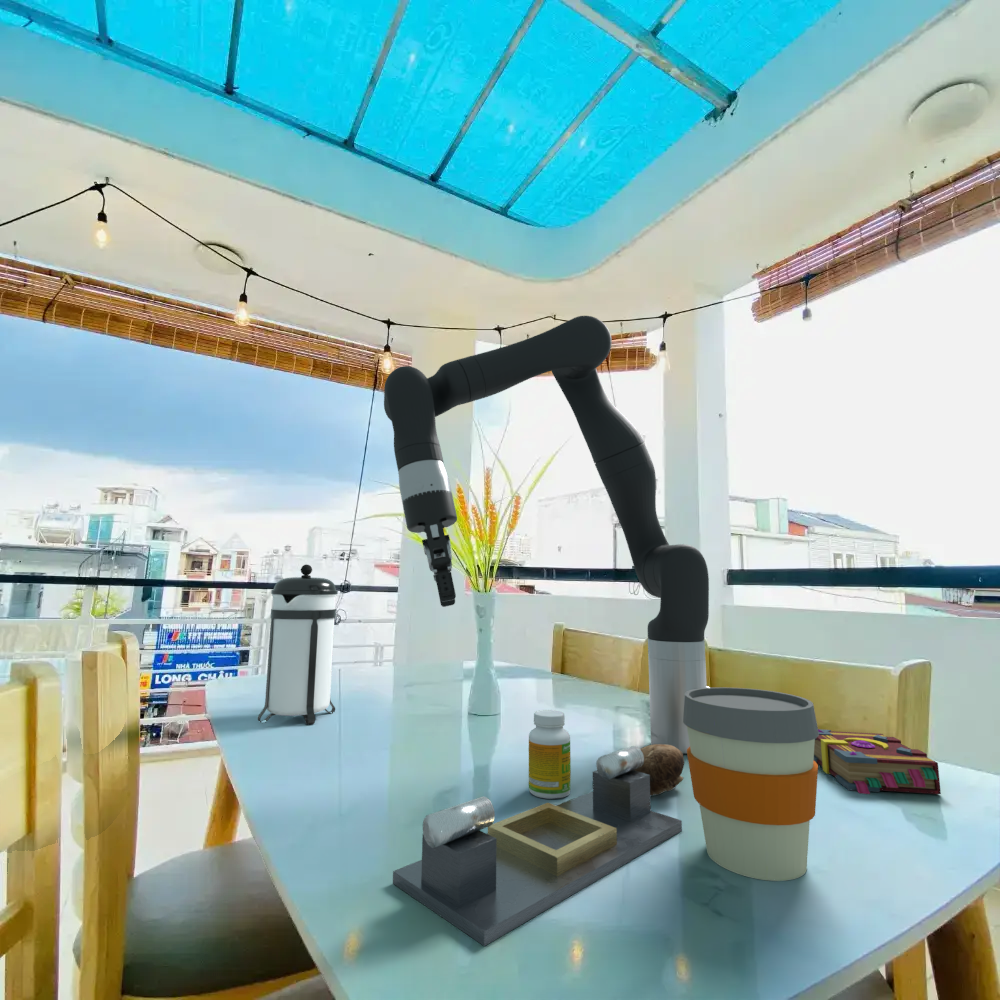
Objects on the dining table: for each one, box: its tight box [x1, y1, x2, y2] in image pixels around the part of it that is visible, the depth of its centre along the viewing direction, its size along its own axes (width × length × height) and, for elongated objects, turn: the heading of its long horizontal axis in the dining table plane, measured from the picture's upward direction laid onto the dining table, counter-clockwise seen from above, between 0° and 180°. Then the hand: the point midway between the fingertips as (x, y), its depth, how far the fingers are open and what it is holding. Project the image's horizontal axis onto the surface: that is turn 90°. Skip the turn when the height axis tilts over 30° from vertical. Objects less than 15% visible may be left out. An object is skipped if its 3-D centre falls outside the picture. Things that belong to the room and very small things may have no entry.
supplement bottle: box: [528, 709, 572, 800], centre depth 73 cm, size 5×5×10 cm
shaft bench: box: [392, 745, 683, 947], centre depth 56 cm, size 30×12×7 cm, turn 134°
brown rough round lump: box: [634, 744, 685, 797], centre depth 73 cm, size 8×8×6 cm
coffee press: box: [257, 564, 339, 726], centre depth 115 cm, size 17×16×30 cm
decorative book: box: [814, 728, 942, 795], centre depth 80 cm, size 11×16×5 cm
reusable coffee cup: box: [683, 686, 819, 882], centre depth 56 cm, size 12×13×15 cm
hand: (448, 603), depth 81 cm, fingers open, 8 cm apart
